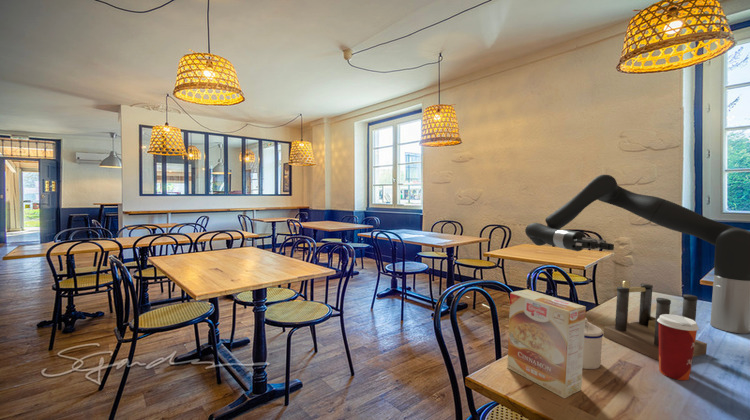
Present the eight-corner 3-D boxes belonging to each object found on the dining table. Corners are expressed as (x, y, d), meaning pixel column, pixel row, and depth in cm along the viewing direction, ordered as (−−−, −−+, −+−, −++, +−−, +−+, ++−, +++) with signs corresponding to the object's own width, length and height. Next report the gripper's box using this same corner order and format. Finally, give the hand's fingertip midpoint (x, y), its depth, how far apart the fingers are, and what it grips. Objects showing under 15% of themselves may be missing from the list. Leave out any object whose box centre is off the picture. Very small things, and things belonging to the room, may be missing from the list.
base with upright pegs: (642, 329, 112) (645, 282, 111) (706, 354, 96) (710, 298, 95) (603, 336, 106) (606, 286, 105) (664, 362, 90) (668, 304, 89)
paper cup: (703, 384, 80) (707, 326, 79) (665, 380, 82) (669, 323, 81) (680, 367, 88) (684, 314, 87) (646, 364, 89) (650, 311, 89)
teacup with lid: (608, 364, 89) (610, 320, 88) (590, 374, 84) (593, 327, 84) (562, 346, 99) (564, 306, 99) (544, 353, 94) (546, 312, 94)
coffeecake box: (506, 368, 87) (508, 292, 85) (524, 361, 90) (527, 288, 89) (564, 399, 74) (568, 311, 73) (582, 390, 77) (587, 305, 76)
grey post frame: (643, 321, 110) (646, 278, 109) (652, 325, 107) (655, 281, 106) (616, 324, 108) (619, 280, 107) (625, 327, 105) (628, 282, 104)
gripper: (556, 230, 132) (598, 237, 116) (582, 229, 136) (626, 235, 120) (555, 250, 132) (597, 259, 116) (581, 248, 137) (625, 257, 120)
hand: (612, 247), depth 118 cm, fingers closed
